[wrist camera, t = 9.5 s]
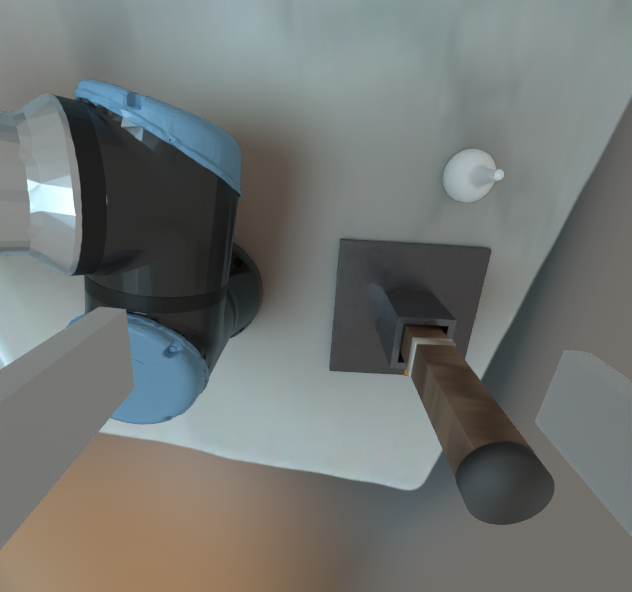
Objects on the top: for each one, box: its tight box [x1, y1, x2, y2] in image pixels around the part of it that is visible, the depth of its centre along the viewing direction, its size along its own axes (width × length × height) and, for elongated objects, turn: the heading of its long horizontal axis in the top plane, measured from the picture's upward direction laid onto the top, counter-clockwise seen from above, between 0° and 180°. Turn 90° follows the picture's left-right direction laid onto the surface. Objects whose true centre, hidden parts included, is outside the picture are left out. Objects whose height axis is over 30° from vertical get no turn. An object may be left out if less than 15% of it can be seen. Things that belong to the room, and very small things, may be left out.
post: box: [400, 324, 554, 525], centre depth 32 cm, size 6×6×22 cm
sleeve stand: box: [330, 239, 491, 376], centre depth 45 cm, size 20×20×10 cm
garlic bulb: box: [443, 149, 504, 203], centre depth 39 cm, size 6×6×8 cm
